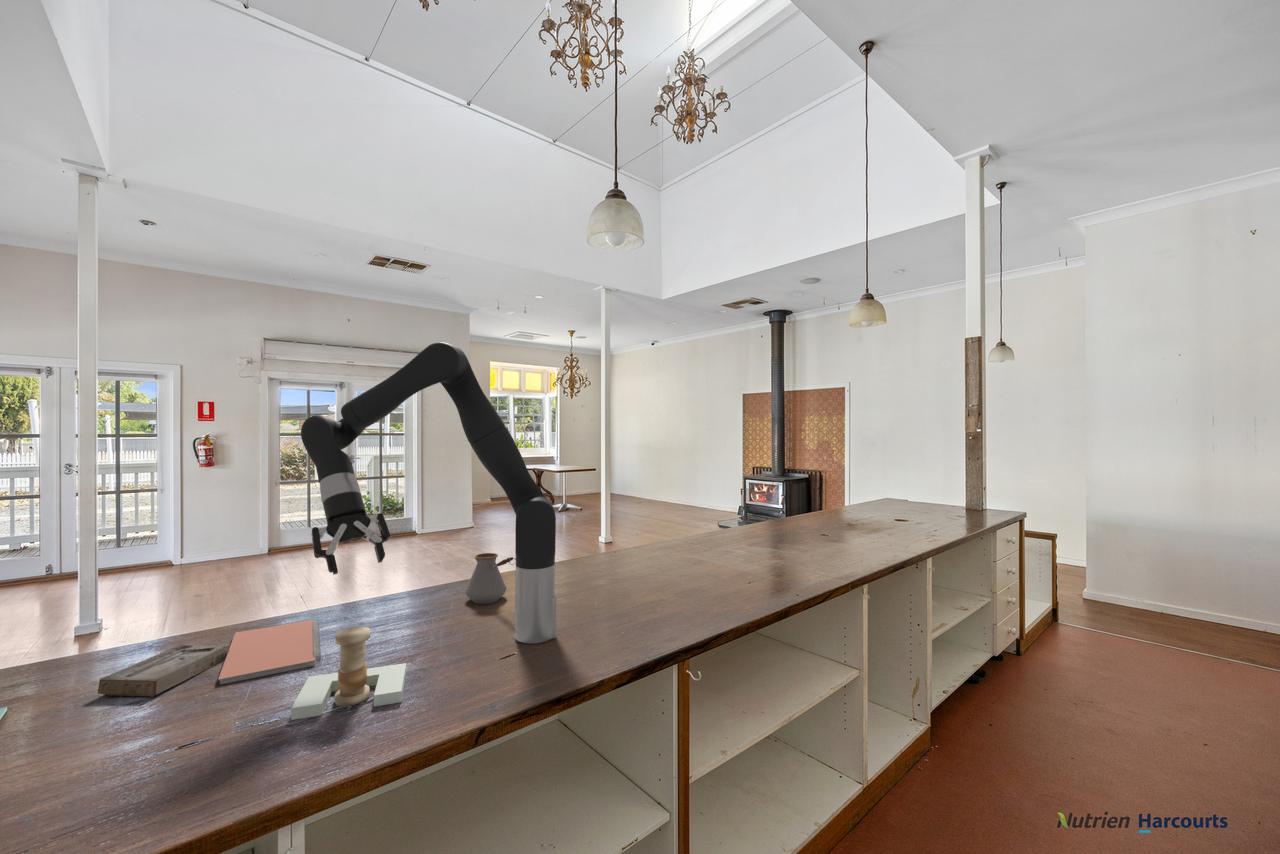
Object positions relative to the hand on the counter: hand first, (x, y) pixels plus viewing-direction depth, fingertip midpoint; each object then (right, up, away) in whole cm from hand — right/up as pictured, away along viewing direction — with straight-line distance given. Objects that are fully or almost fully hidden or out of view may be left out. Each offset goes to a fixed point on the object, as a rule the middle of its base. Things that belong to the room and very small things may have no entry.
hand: (358, 567), depth 109 cm
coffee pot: (+18, -21, +39) cm, 47 cm away
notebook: (-22, -21, +6) cm, 31 cm away
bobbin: (+7, -20, -14) cm, 25 cm away
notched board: (+6, -20, -13) cm, 25 cm away
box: (-35, -21, -6) cm, 41 cm away
